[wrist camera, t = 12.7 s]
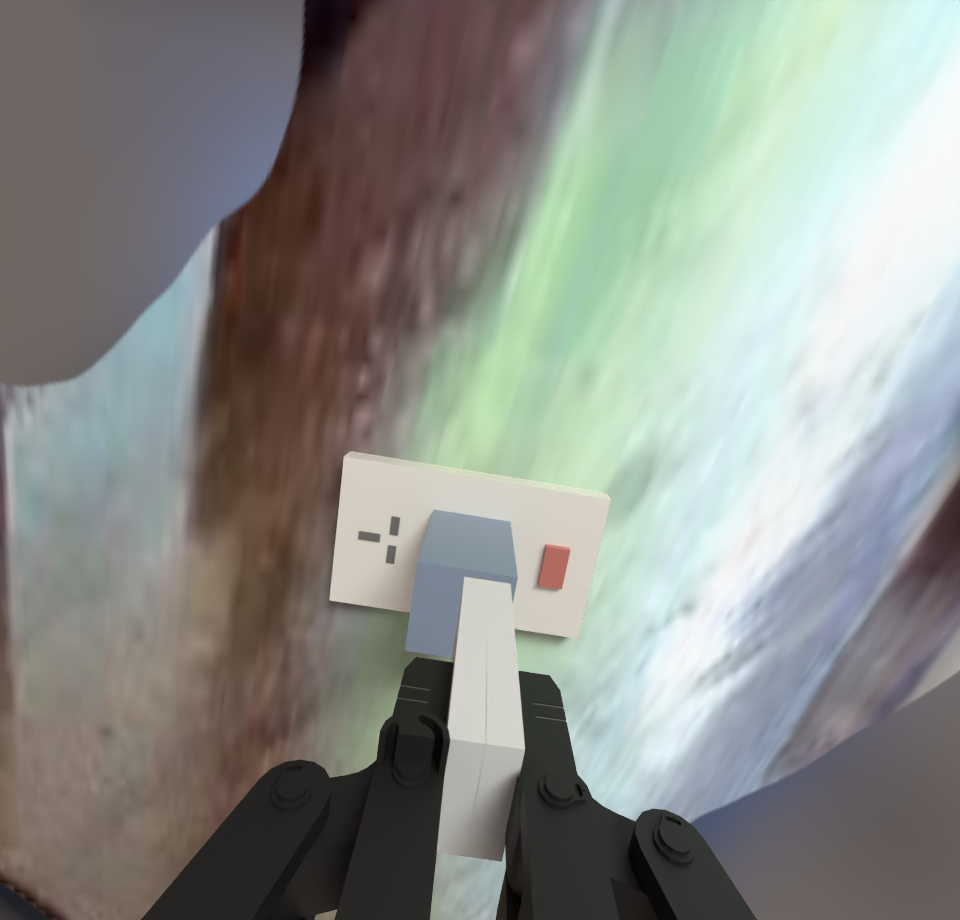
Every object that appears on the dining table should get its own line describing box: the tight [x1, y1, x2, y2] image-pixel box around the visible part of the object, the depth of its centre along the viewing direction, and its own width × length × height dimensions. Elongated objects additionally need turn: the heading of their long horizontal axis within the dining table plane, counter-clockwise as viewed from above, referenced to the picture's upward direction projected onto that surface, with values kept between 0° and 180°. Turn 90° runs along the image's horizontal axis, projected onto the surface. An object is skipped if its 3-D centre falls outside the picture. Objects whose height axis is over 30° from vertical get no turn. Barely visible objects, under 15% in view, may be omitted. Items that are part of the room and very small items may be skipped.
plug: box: [404, 509, 518, 658], centre depth 37 cm, size 6×6×12 cm
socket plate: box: [329, 451, 611, 639], centre depth 42 cm, size 22×13×3 cm, turn 81°
